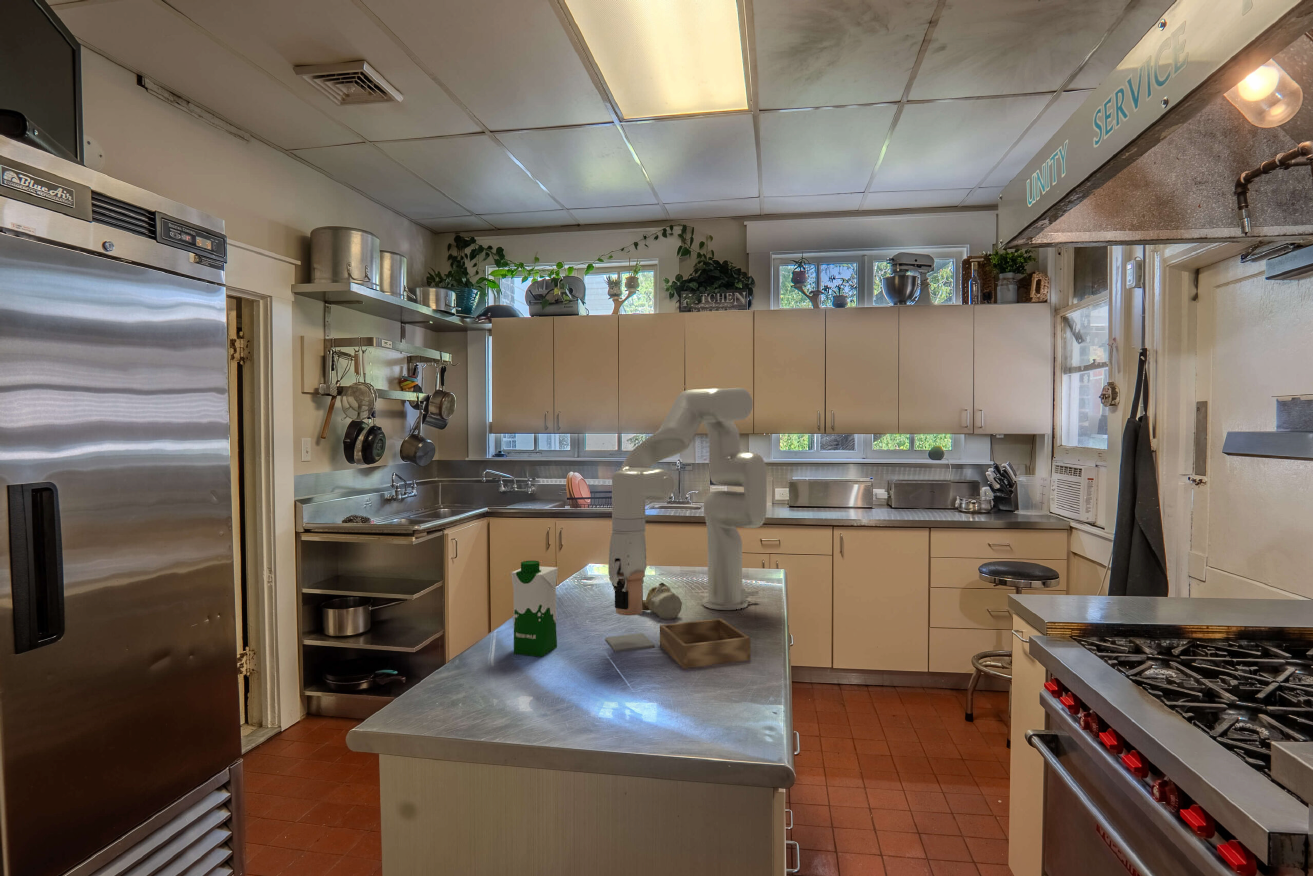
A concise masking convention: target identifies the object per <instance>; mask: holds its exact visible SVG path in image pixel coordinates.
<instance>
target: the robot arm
mask: <svg viewBox="0 0 1313 876" xmlns="http://www.w3.org/2000/svg"><path fill="white" fill-rule="evenodd" d="M753 402H754V401H753V398H752V395H751V393H750V392H749V391H748V390H747V389H745V388H743V387H733V388H732V387H731V388H717V387H716V388H697V389H696V388H695V389H694V388H693V389H688V390H683V391H682V392H681V393H679V395H677V397H676V398H675V400H674V402H673V404H672V406H671V407H670V409H669V412H668V413H667V415H666V416H665V419H664V420H663V422H662V423H661V426H660V427H659V429H658V430H657V431H655V432H654V433H652V434H651V435H650V436H648V437H647V438H646V439H644V440H643V441H642V442H640V443H639V444H637V445H636V446H635V447H634V448H633V449H631V451H630V452H629V453H628V455H627V457H626V458H625V459H624V461H623V463H622V465H621V466H620V468H619V470H618V471H615V472H614V473H613V474H612V476H611V535H610V540H609V541H610V542H609V548H608V549H609V550H608V567H607V569H608V576H609V581H610V583H611V585H612V587H613V589H612V590H613V591H614V608H615V609H616V608H617V609H625V610H627V609H628V591H626V590H627V585H628V580H627V578H629V577H630V575H633V574H635V573H638V572H640V571H645V572H646V570H647V568H648V564H647V543H646V534H645V533H646V501H653V502H654V501H655V502H661V501H664V500H666V499H668V498H669V497H670V496H671V495H672V494H673V492H674V490H675V485H676V484H675V478H674V477H673V475H672V474H671V473H670V472H669V471H668V470H665V469H662V468H652V466H654V465H655V464H656V463H658V462H660V461H663V460H666V459H668V458H671V457H674V456H676V455H678V454H681V453H683V452H685V451H686V450H687V449H688V448H689V447H690V445H691V443H692V441H693V439H694V437H695V435H696V433H697V431H698V429H699V427H701V424H703V426H704V427H705V430H706V432H707V436H708V454H709V455H708V464H709V467H708V469H709V470H708V471H709V479H710V481H711V482H712V483H713V484H715V485H717V486H724V487H737V488H743V491H736V490H716V491H712V492H710V493H709V494H708V495H707V496H706V497H705V499H704V502H703V515H704V518H705V524H706V525H705V526H706V533H707V535H706V536H707V596H706V597H704V598H702V600H701V601H702V605H703V606H704V607H706V608H708V609H712V610H717V611H718V610H719V611H735V610H736V609H737V610H742V609H746V608H747V607H748V605H749V600H748V598H749V597H758V596H759V590H758V589H757V588H754V589H751V588H745V587H743V541H742V538H741V534H740V532H739V531H738V530H737V527H739V528H747V529H751V528H752V529H755V528H759V527H761V526H762V525H763V524H764V522H765V520H766V518H767V503H768V502H767V501H768V499H767V498H768V497H767V491H768V490H767V486H768V485H767V481H768V480H767V479H768V478H767V467H766V463H765V460H764V458H763V457H762V455H760V454H759V453H757V452H751V451H741V443H740V441H741V440H740V438H741V437H740V432H739V429H738V428H737V425H736V424H735V422H737V421H743V420H745V419H747V418H748V417H749V416H750V414H751V412H752V411H753V405H754V403H753ZM650 467H651V468H650ZM619 574H624V575H623V576H624V577H622V576H618V575H619ZM620 579H623V580H624V581H623V584H622V582H621V581H619V580H620ZM644 582H645V579H644V578H642V601H643V600H644ZM741 608H742V609H741Z"/></svg>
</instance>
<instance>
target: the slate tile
mask: <svg viewBox="0 0 1313 876" xmlns="http://www.w3.org/2000/svg"><path fill="white" fill-rule="evenodd" d="M605 642H607V643H608V644H609V646H610V647H611V648H612V650H613V651H614V652H615V653H620V652H627V651H629V652H630V651H636V650H637V651H638V650H644V649H645V650H646V649H652V648H656V645H655V643H653V642H652V640H650V639H649V638H648V637H647V636H646V635H645V634H644V633H643V632H641V633H640V632H639V633H633V634H624V635H623V634H621V635H614V636H606V637H605Z"/></svg>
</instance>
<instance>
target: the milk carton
mask: <svg viewBox="0 0 1313 876" xmlns="http://www.w3.org/2000/svg"><path fill="white" fill-rule="evenodd" d="M558 571H559V567H555V566H554V567H553V566H541V565H540V561H539V560H524V561H521V562H520V568H518V569H517V570H516V569H515V570H514V571H511V572H510V576H511V583H512V589H513V591H512V593H513V654H514V655H515V654H516V655H521V656H522V655H523V656H531V657H539V658H540V657H541V658H542V657H543V656H545V655H547V654H549V653H550V652H551V651H553V650H554V649H556V648H557V647H558V640H557V639H558V638H557V578H558Z"/></svg>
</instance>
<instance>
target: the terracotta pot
mask: <svg viewBox="0 0 1313 876" xmlns="http://www.w3.org/2000/svg"><path fill="white" fill-rule="evenodd" d="M623 575H624V574H619V575H618V576H622V577H624V576H623ZM645 577H646V570H645V571H640V572H638V573H635V574H633V575H630V577H629V578H627V580H628V585H627V590H626V591H628V609H627V610H625V609H617V608H615V614H617V615H621V616H637V615H641V614H642V613H643V610H642V585H643V584H642V578H643V579H644V578H645ZM619 581H621V582H622V584H623V581H624V580H623V579H620V580H619Z"/></svg>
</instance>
